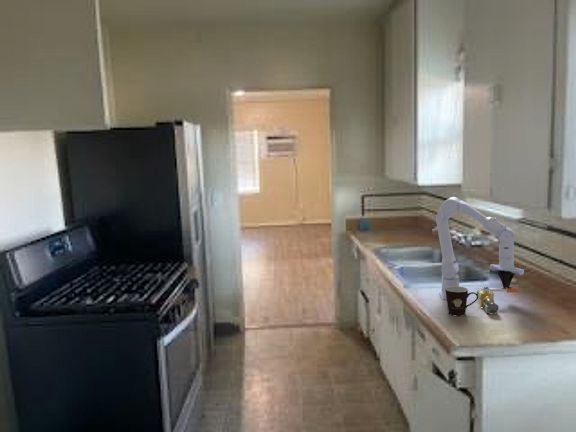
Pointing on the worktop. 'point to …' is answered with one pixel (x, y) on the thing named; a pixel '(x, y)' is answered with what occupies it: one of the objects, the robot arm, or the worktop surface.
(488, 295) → the pipe valve
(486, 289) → the valve lever
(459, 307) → the coffee mug
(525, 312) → the worktop surface
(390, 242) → the worktop surface
